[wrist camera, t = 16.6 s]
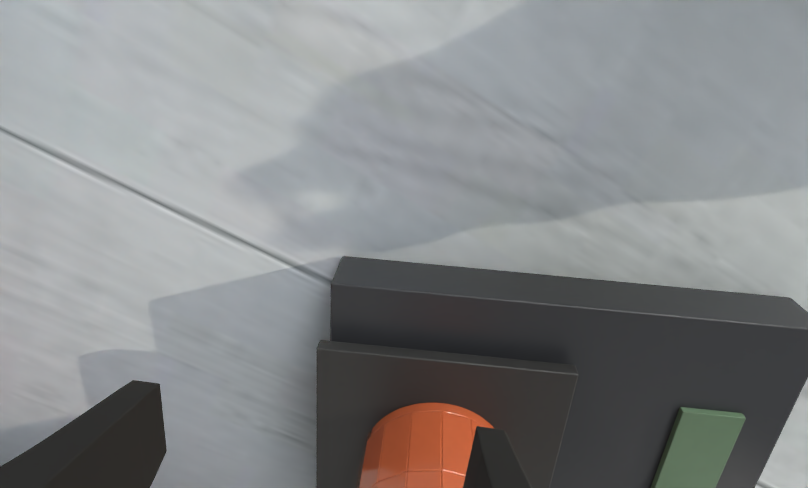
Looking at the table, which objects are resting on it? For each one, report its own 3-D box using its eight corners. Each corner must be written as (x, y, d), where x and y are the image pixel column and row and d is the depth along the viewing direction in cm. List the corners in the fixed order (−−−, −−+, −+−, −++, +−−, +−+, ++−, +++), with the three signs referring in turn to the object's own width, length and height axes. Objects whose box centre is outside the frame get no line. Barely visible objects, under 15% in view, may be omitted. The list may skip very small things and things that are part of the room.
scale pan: (319, 515, 24) (316, 527, 23) (319, 339, 20) (316, 348, 19) (531, 539, 24) (533, 551, 23) (575, 364, 20) (579, 374, 19)
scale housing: (336, 497, 27) (325, 546, 25) (341, 255, 22) (328, 287, 19) (687, 536, 27) (712, 589, 24) (791, 297, 21) (837, 335, 18)
